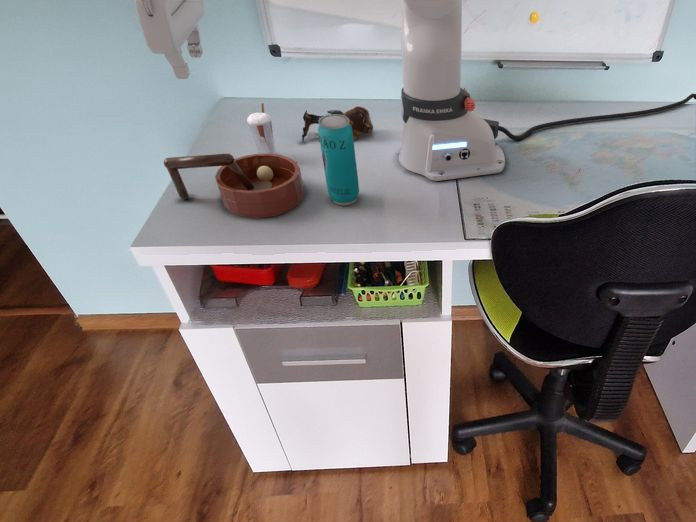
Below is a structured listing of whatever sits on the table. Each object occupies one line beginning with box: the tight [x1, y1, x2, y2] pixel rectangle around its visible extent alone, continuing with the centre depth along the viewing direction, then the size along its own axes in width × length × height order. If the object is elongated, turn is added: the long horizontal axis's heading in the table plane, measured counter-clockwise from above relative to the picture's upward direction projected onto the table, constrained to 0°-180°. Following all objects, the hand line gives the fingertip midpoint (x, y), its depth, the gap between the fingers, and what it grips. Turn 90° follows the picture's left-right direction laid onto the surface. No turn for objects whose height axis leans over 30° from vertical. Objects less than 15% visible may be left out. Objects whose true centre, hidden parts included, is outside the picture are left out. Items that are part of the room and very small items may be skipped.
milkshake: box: [246, 102, 277, 154], centre depth 109 cm, size 4×5×10 cm
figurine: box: [301, 106, 374, 143], centre depth 119 cm, size 8×16×6 cm, turn 98°
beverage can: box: [317, 114, 360, 207], centre depth 96 cm, size 6×6×15 cm
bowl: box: [214, 153, 305, 219], centre depth 100 cm, size 15×15×5 cm
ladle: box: [163, 153, 273, 201], centre depth 98 cm, size 17×4×8 cm, turn 97°
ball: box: [257, 166, 273, 181], centre depth 103 cm, size 3×3×3 cm
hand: (190, 66), depth 84 cm, fingers open, 8 cm apart
